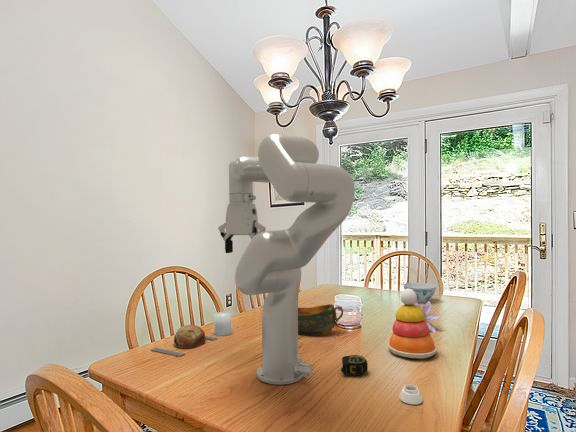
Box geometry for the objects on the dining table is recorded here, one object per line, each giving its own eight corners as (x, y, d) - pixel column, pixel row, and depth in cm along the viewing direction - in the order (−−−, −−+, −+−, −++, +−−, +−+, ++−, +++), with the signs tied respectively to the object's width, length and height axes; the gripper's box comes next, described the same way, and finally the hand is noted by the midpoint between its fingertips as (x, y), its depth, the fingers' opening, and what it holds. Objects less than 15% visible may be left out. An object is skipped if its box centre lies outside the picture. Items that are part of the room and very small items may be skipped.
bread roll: (172, 353, 122) (163, 334, 119) (196, 333, 129) (187, 315, 126) (190, 361, 115) (180, 341, 113) (214, 339, 122) (205, 320, 120)
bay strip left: (184, 354, 111) (184, 353, 111) (180, 357, 109) (180, 356, 109) (156, 348, 116) (155, 347, 116) (151, 350, 114) (151, 349, 114)
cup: (234, 331, 132) (234, 312, 132) (223, 336, 127) (223, 316, 127) (222, 329, 136) (221, 310, 136) (211, 334, 130) (210, 314, 130)
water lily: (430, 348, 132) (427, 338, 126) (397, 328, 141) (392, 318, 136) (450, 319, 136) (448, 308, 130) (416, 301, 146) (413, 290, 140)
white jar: (394, 399, 83) (413, 408, 79) (394, 386, 83) (413, 395, 79) (408, 393, 86) (427, 401, 82) (408, 380, 86) (427, 388, 82)
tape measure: (342, 366, 101) (341, 353, 101) (367, 368, 100) (367, 354, 100) (341, 377, 95) (341, 363, 95) (368, 379, 93) (368, 364, 93)
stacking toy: (440, 349, 113) (439, 286, 114) (432, 365, 101) (431, 295, 101) (394, 341, 121) (393, 283, 121) (382, 356, 108) (381, 290, 109)
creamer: (324, 343, 120) (324, 312, 120) (279, 331, 133) (279, 304, 133) (345, 333, 129) (345, 305, 130) (301, 323, 142) (301, 297, 142)
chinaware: (397, 299, 183) (397, 283, 183) (422, 296, 187) (422, 281, 187) (416, 305, 169) (416, 289, 169) (443, 303, 173) (443, 287, 173)
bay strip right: (217, 338, 125) (217, 338, 125) (213, 340, 123) (213, 339, 123) (190, 334, 131) (190, 333, 131) (186, 335, 129) (186, 335, 129)
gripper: (270, 199, 116) (271, 253, 115) (225, 201, 123) (226, 251, 123) (258, 198, 109) (258, 255, 109) (211, 200, 117) (212, 253, 116)
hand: (241, 253), depth 116 cm, fingers open, 9 cm apart
